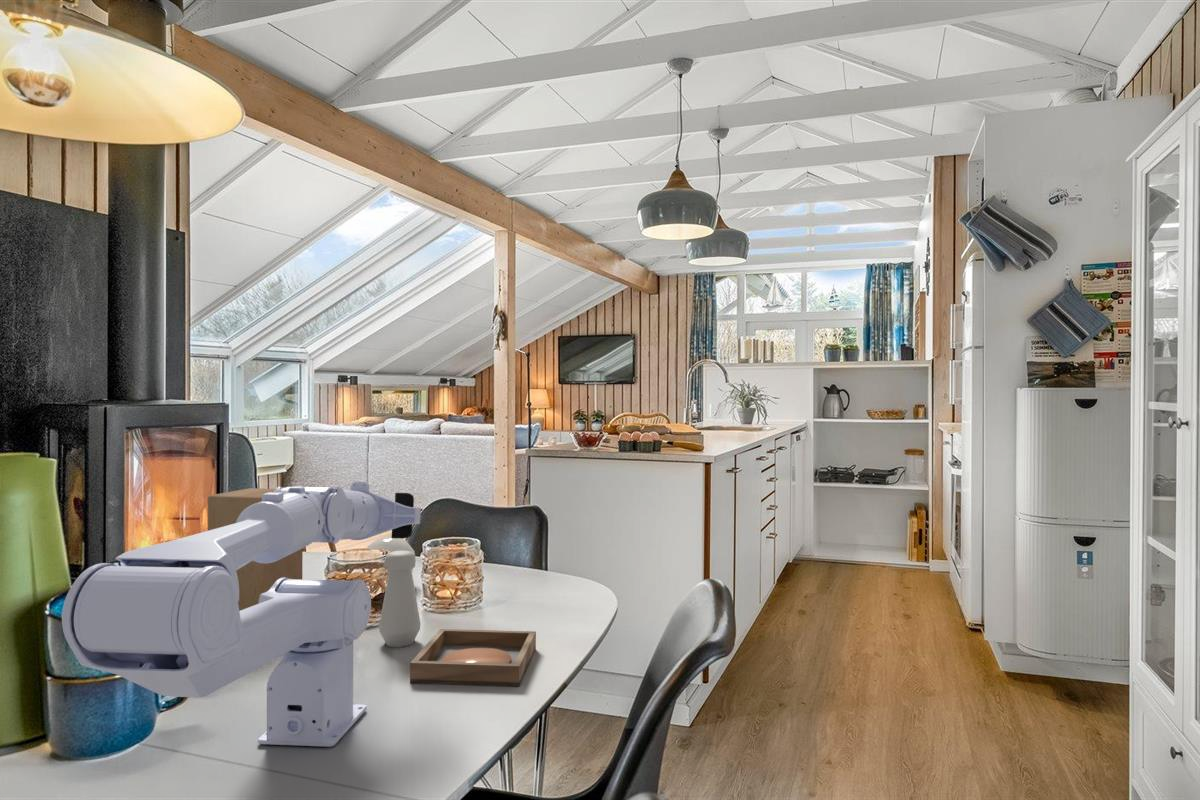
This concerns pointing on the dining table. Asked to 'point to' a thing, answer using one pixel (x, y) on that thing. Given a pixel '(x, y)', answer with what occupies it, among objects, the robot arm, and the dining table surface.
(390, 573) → the salt shaker
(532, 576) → the dining table surface
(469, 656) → the coaster
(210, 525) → the wooden block
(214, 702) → the dining table surface
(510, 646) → the square wooden serving tray
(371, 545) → the white rounded ovoid
